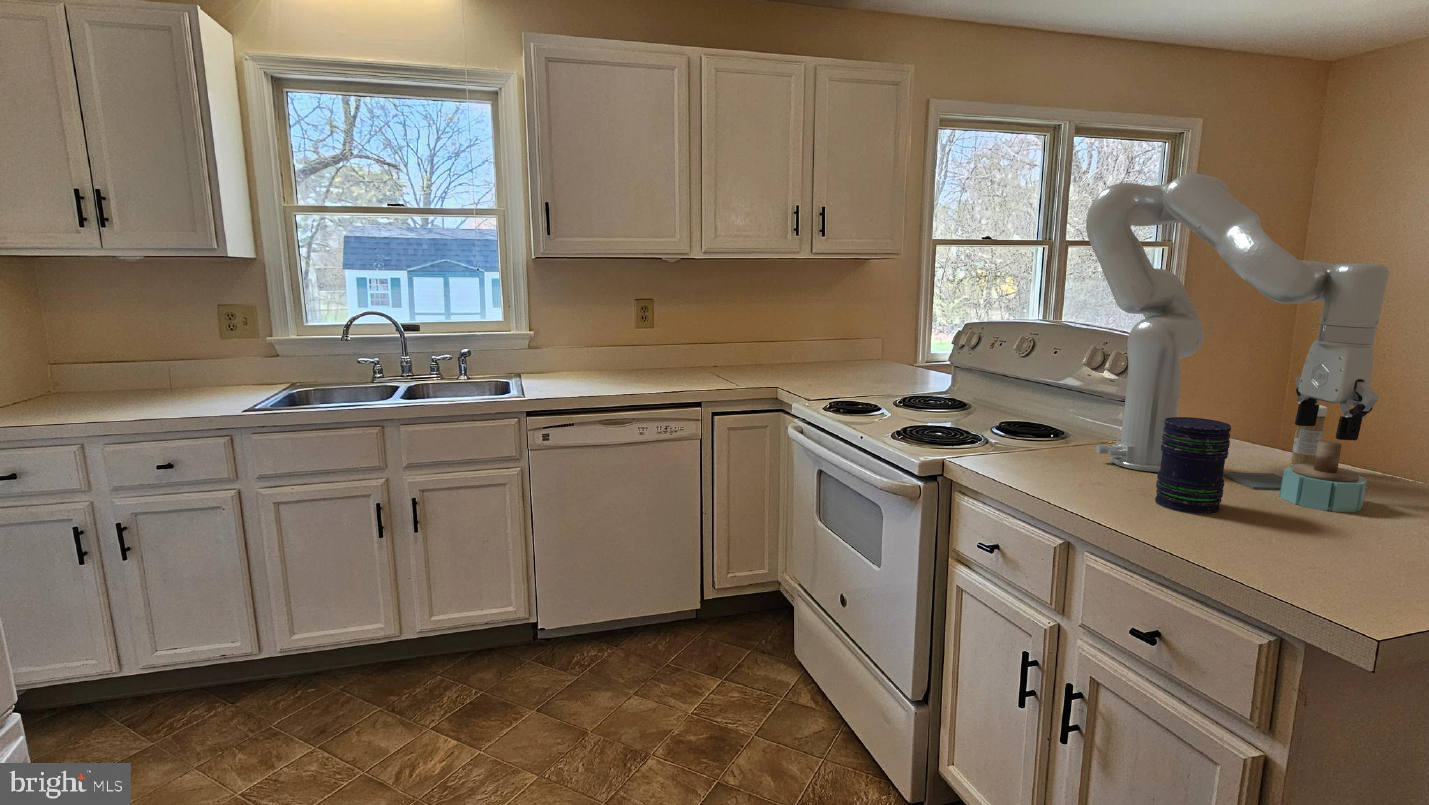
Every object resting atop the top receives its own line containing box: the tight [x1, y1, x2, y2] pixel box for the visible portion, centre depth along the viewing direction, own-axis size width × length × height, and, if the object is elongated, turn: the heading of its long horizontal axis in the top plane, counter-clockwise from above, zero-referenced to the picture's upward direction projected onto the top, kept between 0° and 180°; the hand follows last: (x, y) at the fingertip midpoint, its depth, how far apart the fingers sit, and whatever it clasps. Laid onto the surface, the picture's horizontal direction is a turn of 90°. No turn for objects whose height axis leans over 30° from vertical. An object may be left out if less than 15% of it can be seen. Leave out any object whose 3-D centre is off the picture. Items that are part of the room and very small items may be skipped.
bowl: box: [1279, 466, 1368, 513], centre depth 128 cm, size 11×11×5 cm
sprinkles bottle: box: [1289, 404, 1328, 467], centre depth 148 cm, size 5×5×13 cm
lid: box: [1292, 440, 1360, 482], centre depth 127 cm, size 9×9×6 cm
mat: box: [1223, 471, 1282, 491], centre depth 140 cm, size 10×10×1 cm
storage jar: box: [1154, 416, 1232, 515], centre depth 125 cm, size 10×10×15 cm
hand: (1324, 432), depth 127 cm, fingers open, 9 cm apart
